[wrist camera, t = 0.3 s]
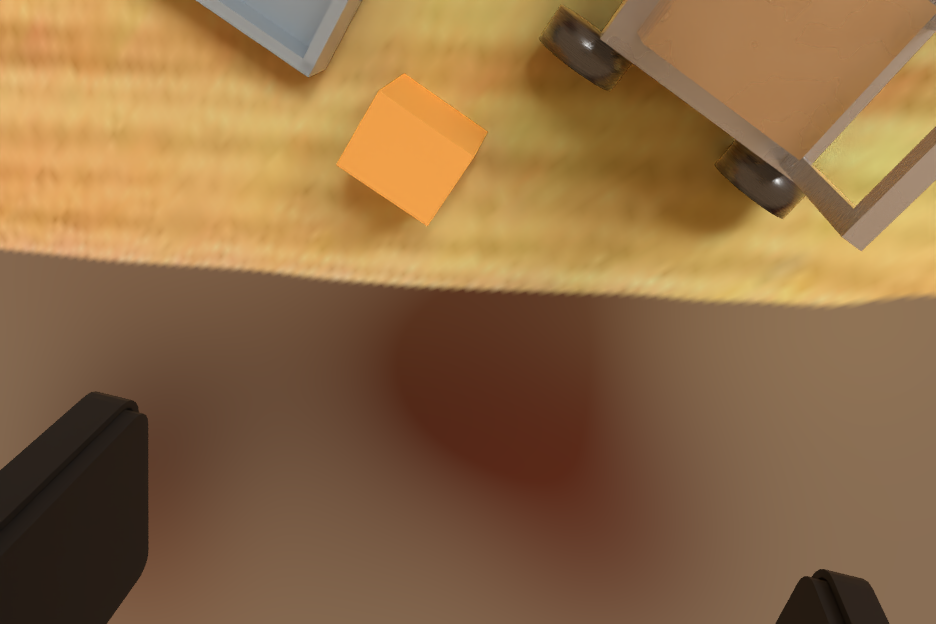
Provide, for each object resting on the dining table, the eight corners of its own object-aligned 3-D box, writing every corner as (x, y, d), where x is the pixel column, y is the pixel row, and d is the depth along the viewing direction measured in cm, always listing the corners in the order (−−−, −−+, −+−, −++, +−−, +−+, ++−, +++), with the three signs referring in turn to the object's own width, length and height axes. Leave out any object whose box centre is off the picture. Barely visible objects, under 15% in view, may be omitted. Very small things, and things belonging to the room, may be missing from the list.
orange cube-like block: (404, 73, 36) (378, 90, 32) (488, 131, 37) (474, 157, 32) (365, 139, 38) (335, 164, 33) (445, 194, 38) (427, 226, 34)
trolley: (709, -221, 29) (796, -342, 17) (968, -9, 31) (1214, 21, 19) (541, 32, 34) (515, 80, 22) (772, 201, 36) (866, 332, 24)
